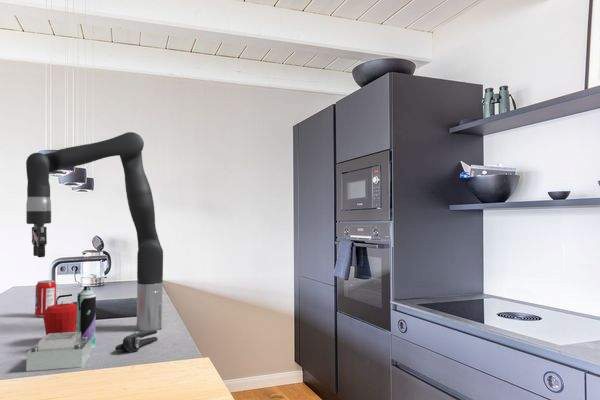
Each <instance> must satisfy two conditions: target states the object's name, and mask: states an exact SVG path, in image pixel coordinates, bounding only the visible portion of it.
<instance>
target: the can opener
mask: <svg viewBox="0 0 600 400" xmlns="http://www.w3.org/2000/svg"><path fill="white" fill-rule="evenodd" d="M157 333H158V330H148V331H139V330H137V331H135V332H133V333H132V334H129V335H127V336H125V337H123V339H122V343H119V344H117V345H116V346H115V351H116V352H129V353H134V352H136V351H138V350H140V348H141V346H142V345H148V343H149V344H152V343H154V341H155V342H156V341H158V339H159V338H158V337H156V336H152V335H155V334H157ZM149 336H151V337H149ZM145 337H146V338H145ZM142 338H143V339H142Z"/></svg>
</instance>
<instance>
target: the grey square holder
mask: <svg viewBox="0 0 600 400" xmlns="http://www.w3.org/2000/svg"><path fill="white" fill-rule="evenodd" d="M91 353H92V349H91V338H88V337H87V336H84V337H82V339H81V332H77V331H76V332H67V333H50V334H47V335H46V334H45V336H44V337H42V338H41V339H40V340H38V343H37V344H35V345H34V346H33V347H31V348H30V349H29V350H28V351H27V352H26V365H25V366H26V369H25V371H26V372H34V371H46V370H47V371H48V370H62V369H74V368H82V367H83V366H84V364H86V362H87V360H88V359H89V358H90V356H91V355H92V354H91Z"/></svg>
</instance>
